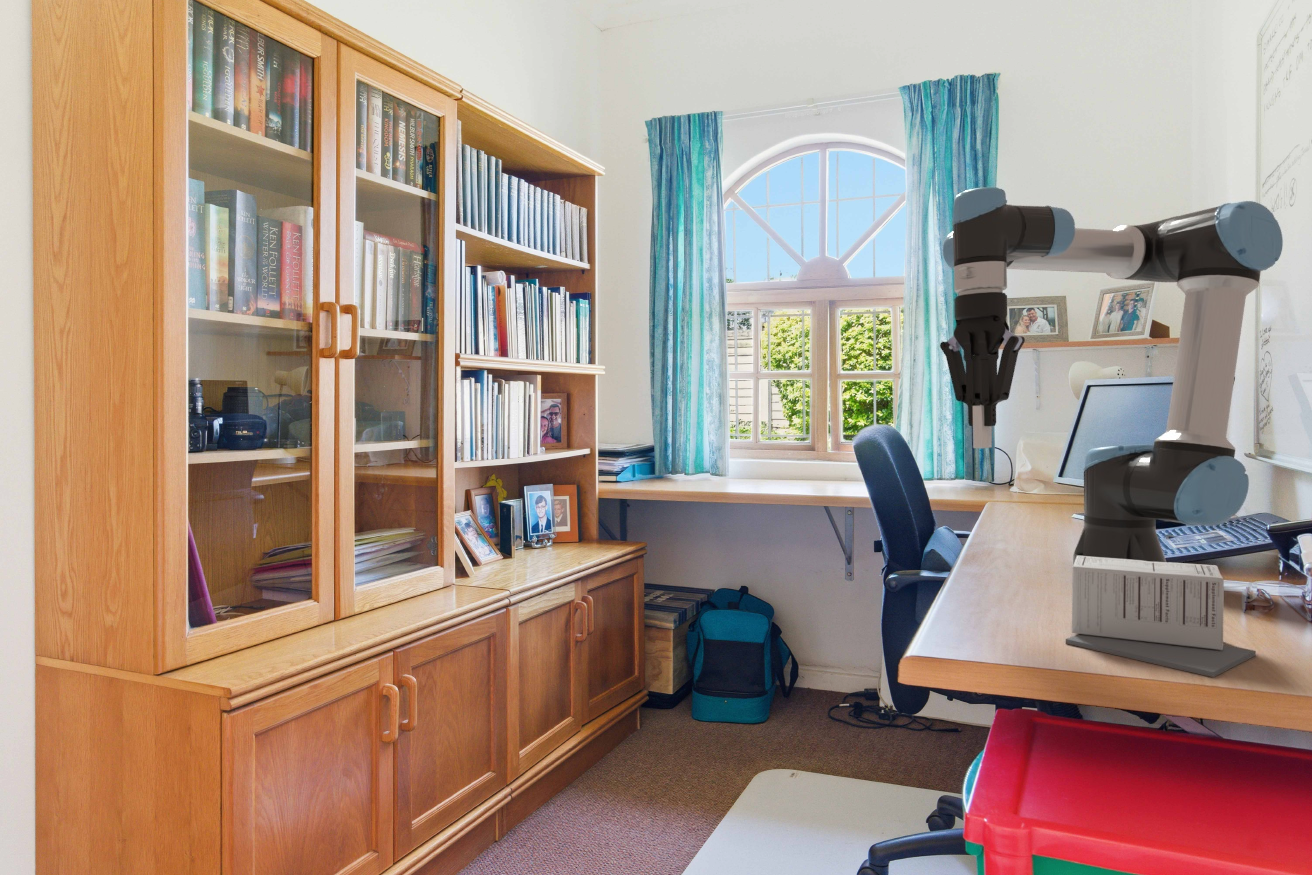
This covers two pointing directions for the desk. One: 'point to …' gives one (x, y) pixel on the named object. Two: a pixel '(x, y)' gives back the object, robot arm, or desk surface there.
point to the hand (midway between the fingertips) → (982, 447)
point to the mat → (1168, 653)
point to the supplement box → (1148, 601)
